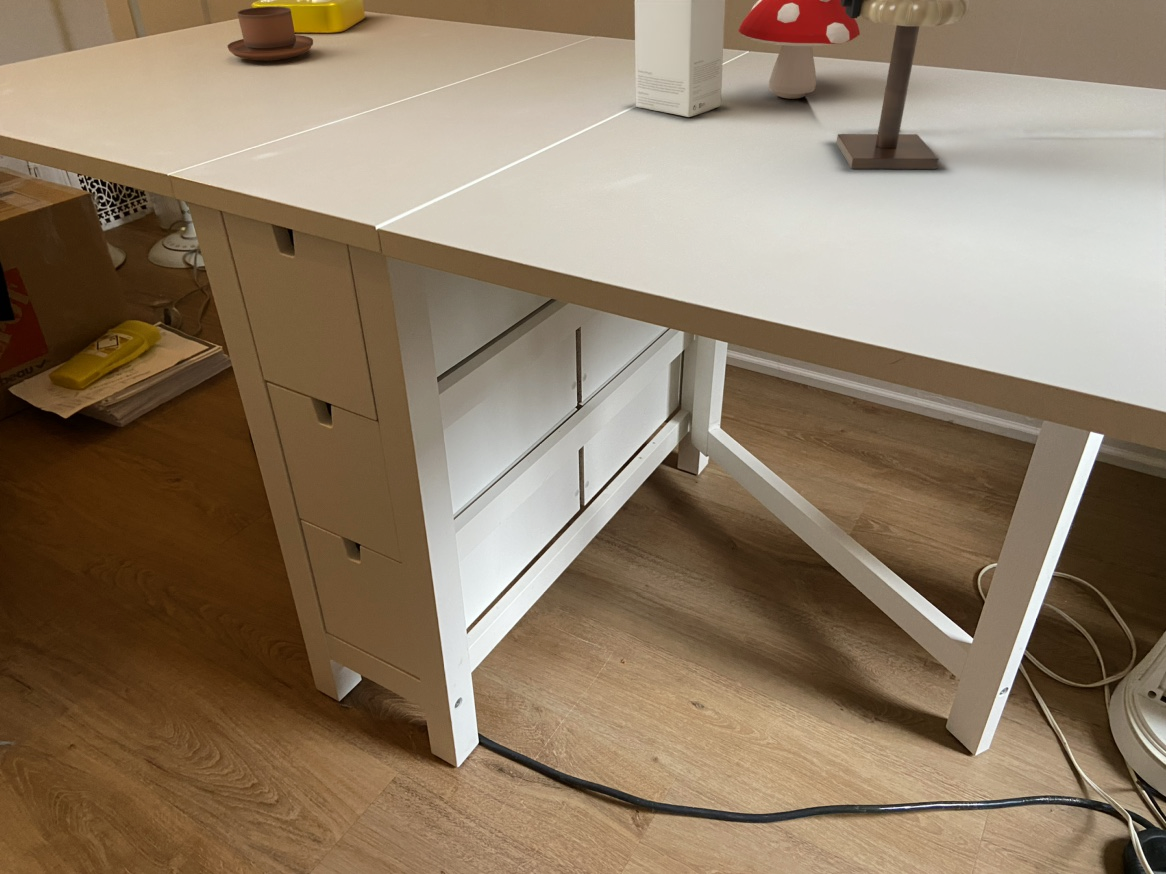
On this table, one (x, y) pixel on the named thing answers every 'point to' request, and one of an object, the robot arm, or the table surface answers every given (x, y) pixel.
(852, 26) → the decorative mushroom
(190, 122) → the table surface
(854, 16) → the robot arm
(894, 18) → the ribbed beige ring
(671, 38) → the cosmetic box
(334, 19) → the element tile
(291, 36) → the cup and saucer
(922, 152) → the peg
